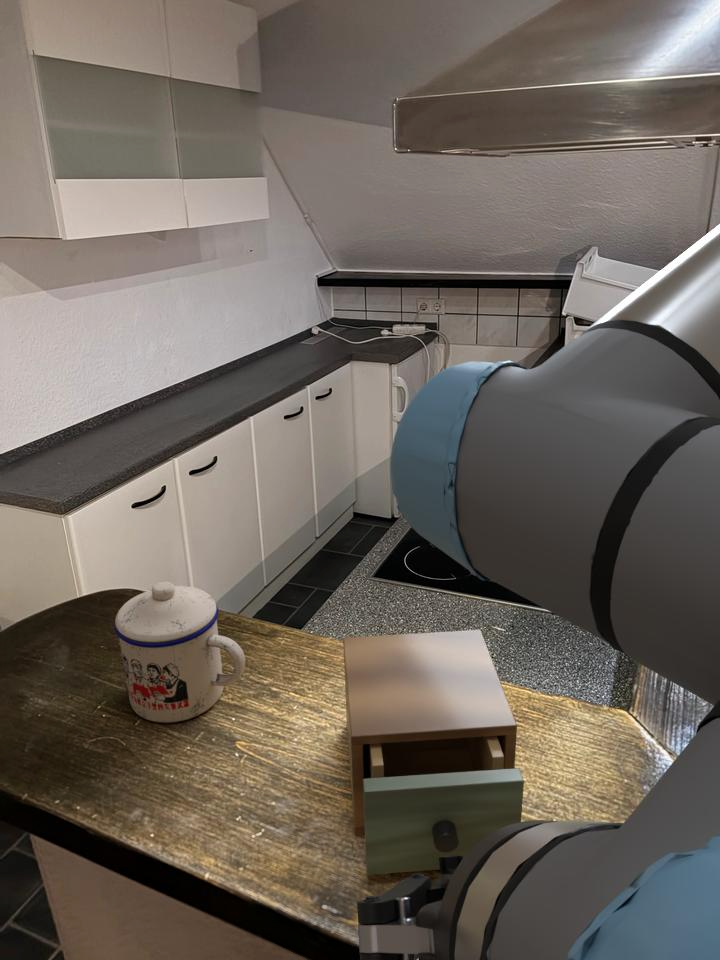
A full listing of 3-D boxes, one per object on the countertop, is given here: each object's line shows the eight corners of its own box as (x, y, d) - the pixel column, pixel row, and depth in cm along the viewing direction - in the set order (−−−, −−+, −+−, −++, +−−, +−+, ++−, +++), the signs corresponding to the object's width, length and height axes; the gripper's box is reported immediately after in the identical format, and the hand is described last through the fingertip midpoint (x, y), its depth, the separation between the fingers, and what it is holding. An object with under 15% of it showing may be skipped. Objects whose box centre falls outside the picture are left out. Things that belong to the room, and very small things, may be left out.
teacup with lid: (106, 714, 69) (86, 603, 65) (164, 657, 77) (149, 555, 73) (223, 743, 65) (209, 627, 61) (270, 681, 73) (261, 574, 69)
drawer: (523, 879, 51) (529, 794, 48) (368, 890, 50) (365, 806, 48) (483, 751, 62) (487, 676, 60) (356, 759, 62) (354, 685, 59)
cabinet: (511, 824, 56) (517, 725, 53) (354, 836, 56) (350, 736, 52) (477, 716, 68) (480, 629, 64) (346, 725, 67) (343, 637, 64)
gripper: (367, 1140, 21) (351, 969, 42) (829, 1097, 21) (580, 950, 43) (350, 836, 24) (343, 821, 45) (757, 807, 24) (558, 806, 46)
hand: (459, 884), depth 44 cm, fingers closed
